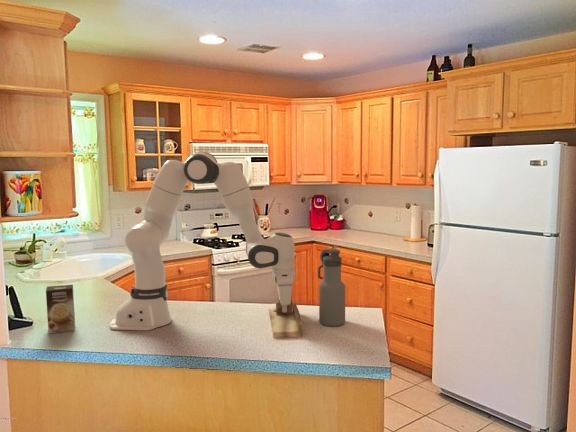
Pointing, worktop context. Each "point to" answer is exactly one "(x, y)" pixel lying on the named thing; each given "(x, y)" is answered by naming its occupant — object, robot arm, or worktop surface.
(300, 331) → the board
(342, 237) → the worktop surface
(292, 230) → the worktop surface
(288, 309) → the brown block
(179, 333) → the worktop surface
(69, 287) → the coffee box
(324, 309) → the water bottle
